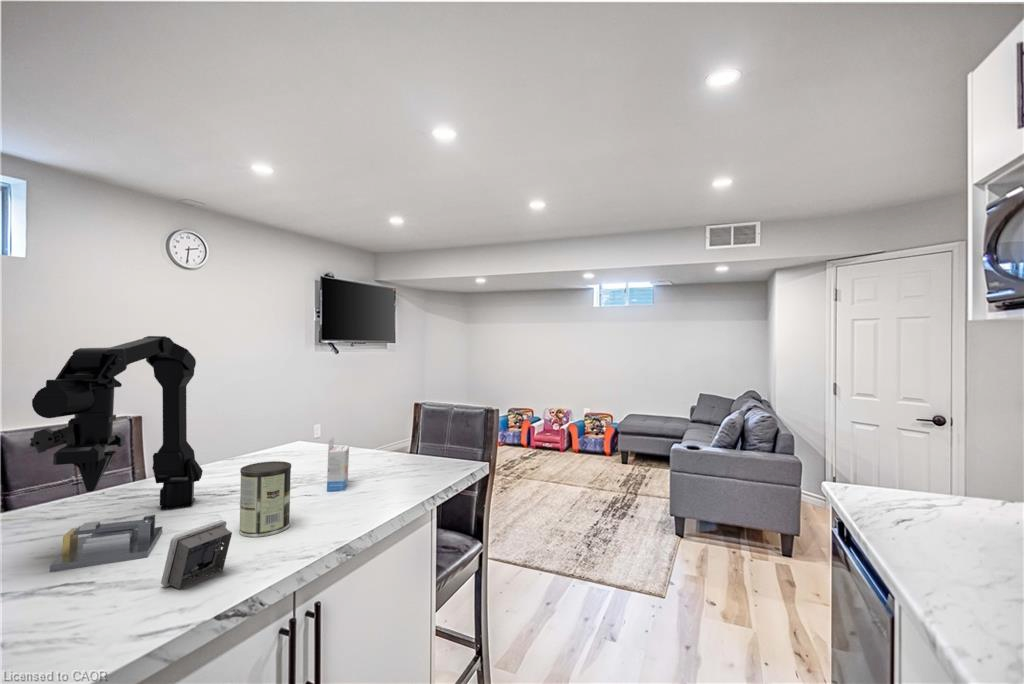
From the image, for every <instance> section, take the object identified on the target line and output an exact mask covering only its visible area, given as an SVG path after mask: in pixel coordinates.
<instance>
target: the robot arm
mask: <svg viewBox="0 0 1024 684" xmlns="http://www.w3.org/2000/svg"><path fill="white" fill-rule="evenodd" d="M71 354H72V355H71V356H70V357H69V358H68V359H67V361H66V362H65V364H64V366H63V367H62V368H61V370H60V371H59V373H58V375H57V376H56V377H55V379H46V381H45V386H44V387H42V388H39V390H38V391H37V392H36V393H35V395H34V397H33V398H32V400H31V405H32V406H31V407H32V408H33V411H34V412H35V414H36V415H37V416H40V417H42V418H45V419H54V418H60V417H69V416H73V417H72V418H70V419H69V420H68V421H67V425H66V426H64V427H61V428H57V429H55V430H52V429H50V427H46V428H43V429H41V430H40V429H39V430H37V431H34V433H33V436H32V437H30V438H29V439H30V443H29V446H30V447H31V448H35V450H36V453H37V454H41V453H44V452H46V451H47V450H50V449H54V448H56V447H58V446H59V447H60V446H63V445H65V446H64V447H62V448H60V449H58V450H57V451H56V452H54V453H53V459H52V460H53V461H52V464H53V465H54V466H60V465H74V466H76V468H78V471H79V473H80V476H81V479H82V482H83V484H84V488H85V490H86V492H94V491H95V490H96V489H97V487H98V485H99V483H100V482H101V480H102V478H103V476H104V474H105V472H106V471H107V469H108V467H109V465H110V464H111V462H112V460H113V458H114V457H115V455H116V454H117V450H110V451H109V450H108V449H109V448H108V447H107V446H109V447H110V446H117V447H118V448H122V447H123V446H125V444H126V436H125V435H124V434H123V433H122V432H120V431H117V432H114V431H113V428H114V427H113V425H114V421H116V420H117V414H114V406H115V405H114V404H115V401H114V400H115V388H121V387H122V383H121V382H120V381H119V380H117V379H116V378H115V377H117V376H118V375H119V374H122V373H123V372H125V371H126V370H127V367H128V366H129V365H131V364H133V363H135V362H140V361H142V360H145V362H146V363H148V365H149V366H151V367H152V369H153V376H154V378H155V380H156V381H157V382H158V384H159V385H160V386H161V388H162V444H161V446H160V447H159V449H158V450H157V452H154V453H153V455H152V462H153V464H152V468H151V470H152V471H153V475H154V479H155V484H162V487H161V488H160V490H159V506H160V511H163V510H170V509H171V510H172V509H173V510H174V509H179V508H189V507H192V506H193V504H194V502H195V501H196V497H195V496H194V494H195V483H196V482H199V481H201V480H202V476H203V468H202V467H201V466H200V465H199V463H198V462H197V460H196V456H195V451H194V449H193V447H192V446H191V445H190V443H189V442H188V440H187V437H188V435H187V424H188V423H187V421H188V420H187V386H188V385H189V383H190V381H192V379H193V377H194V375H195V368H196V366H197V360H196V358H195V356H194V355H193V354H192V352H190V350H188V349H187V348H185V347H183V346H181V345H179V344H178V343H176V342H174V341H173V340H172V339H171V337H167V336H166V335H164V336H163V335H162V336H161V335H147V336H144V337H143V338H140V339H136V340H133V341H130V342H129V341H128V342H125V343H122V344H118V345H114V346H111V347H83V348H81V347H80V348H77V349H75V350H73V351H72V353H71ZM200 479H201V480H200Z"/></svg>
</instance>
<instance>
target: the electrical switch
mask: <svg viewBox="0 0 1024 684" xmlns="http://www.w3.org/2000/svg"><path fill="white" fill-rule="evenodd" d="M232 534H233V532H232V531H230V530H229V529H228V528H227V522H226V520H223V519H220V520H219V519H218V520H217V521H213V522H210V523H208V524H204V525H202V526H199V527H195V528H192V529H190V530H187V531H184V532H181V533H178V534H175V535H174V536H173V537H172V538H171V539H170V544H169V547H168V552H167V556H166V560H165V564H164V568H163V573H162V574H163V575H162V576H161V582H160V584H161V585H162V587H164V588H168V587H170V586H172V587H174V588H176V589H178V590H179V591H180V590H182V589H184V588H187V587H189V586H191V585H194V584H196V583H199V582H200V581H203V580H205V579H208V578H209V577H212V576H214V575H216V574H218V573H219V574H220V572H222V571H224V566H225V563H226V559H227V554H228V550H229V547H230V543H231V538H232V536H233V535H232ZM196 575H197V576H196Z"/></svg>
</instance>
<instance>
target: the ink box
mask: <svg viewBox="0 0 1024 684" xmlns="http://www.w3.org/2000/svg"><path fill="white" fill-rule="evenodd" d="M334 440H335V436H334V435H332V436H331V438H330V439H329V440H328V448H327V449H328V450H327V473H326V474H327V475H326V476H327V477H326V478H327V479H326V481H327V482H326V492H341V491H340V490H344V491H345V489H346V488H347V486H348V484H349V462H350V460H349V458H350V457H349V455H350V445H334ZM347 483H348V484H347ZM346 485H347V486H346ZM345 487H346V488H345Z"/></svg>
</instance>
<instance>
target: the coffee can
mask: <svg viewBox="0 0 1024 684" xmlns="http://www.w3.org/2000/svg"><path fill="white" fill-rule="evenodd" d="M291 463H292V462H291ZM291 463H290V462H288V461H280V460H279V461H277V460H275V461H274V460H273V461H261V462H256V463H251V464H247V465H244V466H242V467H241V468H240V470H239V471H240V494H239V495H240V497H239V499H240V500H239V501H240V503H239V530H238V532H239V535H241V536H243V537H249V538H262V537H267V536H273V535H276V534H279V533H282V532H284V531H285V530H287V529H289V527H290V525H291V522H290V520H291V519H290V512H291V511H290V510H291V509H290V508H291V507H290V506H291V472H292V471H291V469H292V464H291Z"/></svg>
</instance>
